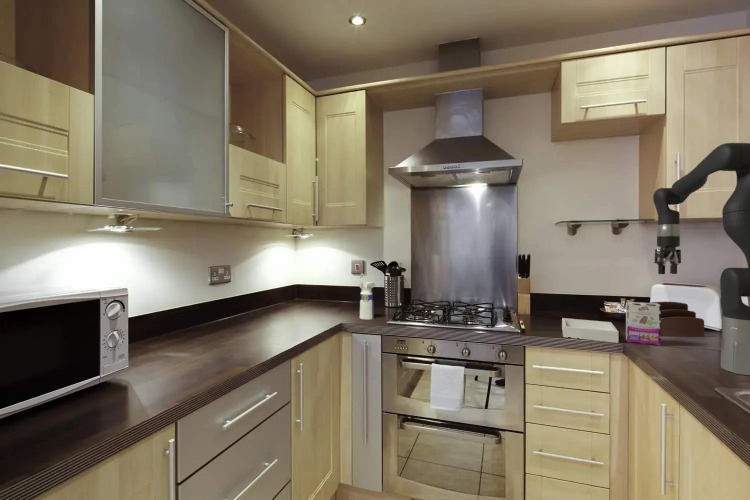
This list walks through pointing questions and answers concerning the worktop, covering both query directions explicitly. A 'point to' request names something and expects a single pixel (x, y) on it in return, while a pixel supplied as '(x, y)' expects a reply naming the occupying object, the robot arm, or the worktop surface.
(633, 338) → the candy bar box
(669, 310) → the letter holder
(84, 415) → the worktop surface
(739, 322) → the robot arm
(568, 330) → the tray
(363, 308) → the white spray bottle
